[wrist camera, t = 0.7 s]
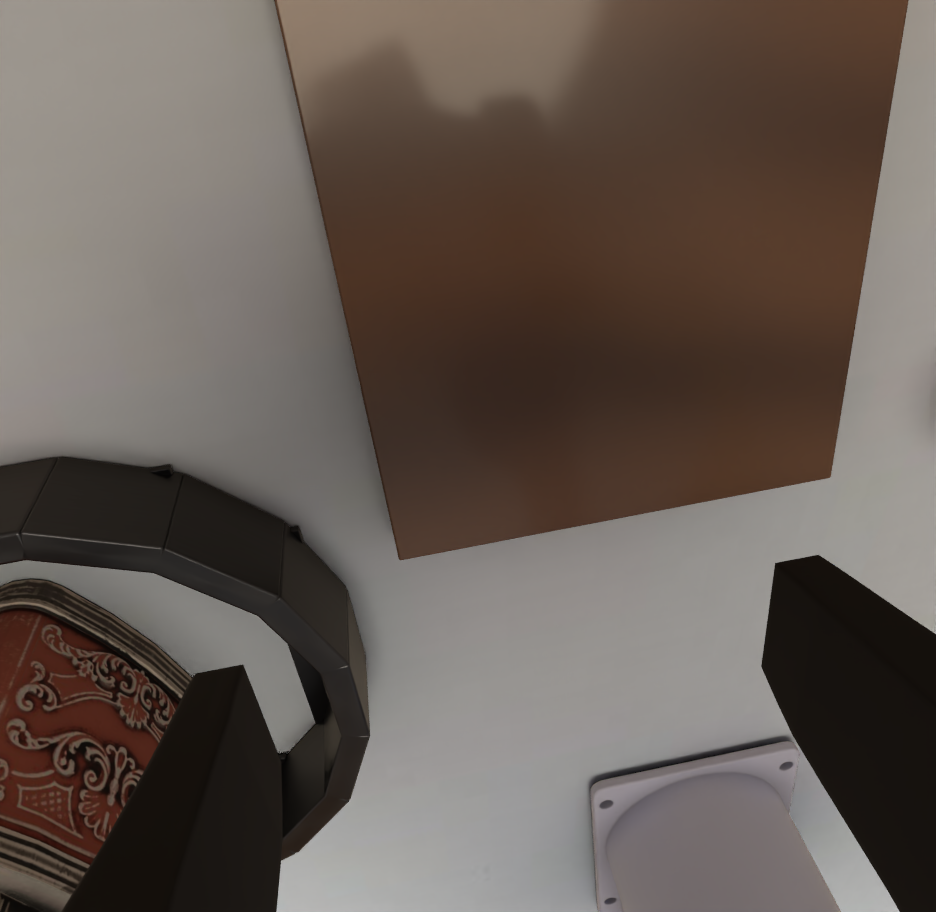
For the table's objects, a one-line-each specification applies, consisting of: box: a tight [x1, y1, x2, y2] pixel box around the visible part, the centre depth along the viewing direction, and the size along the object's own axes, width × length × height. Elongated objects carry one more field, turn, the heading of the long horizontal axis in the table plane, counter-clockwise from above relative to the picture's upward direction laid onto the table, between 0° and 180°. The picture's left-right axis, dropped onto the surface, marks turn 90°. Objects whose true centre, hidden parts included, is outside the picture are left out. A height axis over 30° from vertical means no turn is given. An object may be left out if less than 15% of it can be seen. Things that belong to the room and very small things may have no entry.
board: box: [274, 0, 908, 560], centre depth 16 cm, size 20×12×1 cm, turn 7°
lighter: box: [0, 579, 192, 912], centre depth 19 cm, size 8×3×10 cm, turn 30°
